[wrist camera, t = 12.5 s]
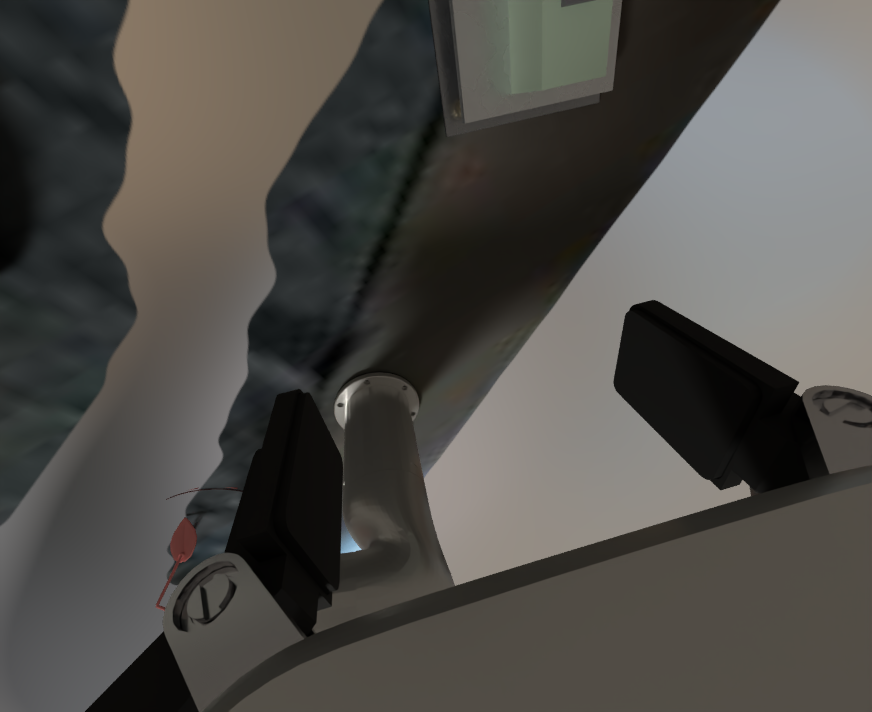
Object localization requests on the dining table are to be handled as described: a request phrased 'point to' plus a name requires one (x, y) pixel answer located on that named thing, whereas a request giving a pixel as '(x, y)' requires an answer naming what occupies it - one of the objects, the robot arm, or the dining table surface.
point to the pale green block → (557, 42)
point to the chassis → (496, 68)
